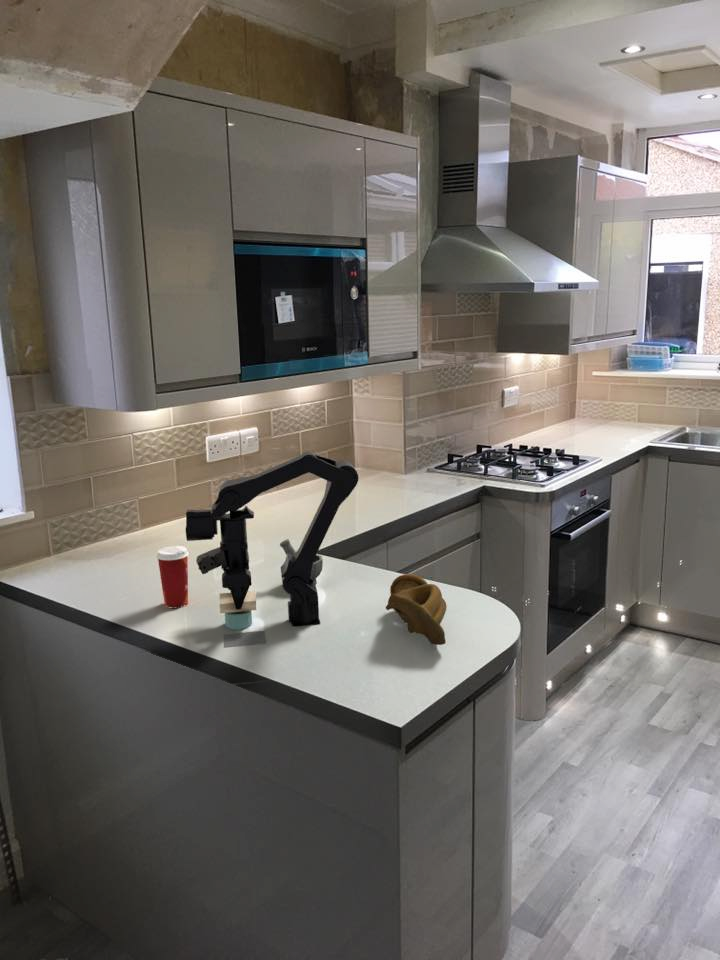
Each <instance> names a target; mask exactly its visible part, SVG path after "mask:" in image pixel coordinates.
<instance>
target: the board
mask: <svg viewBox="0 0 720 960" xmlns="http://www.w3.org/2000/svg"><path fill="white" fill-rule="evenodd" d="M240 611H251V612H252V611H257V597H256V590H248V592H247V594H246V597H245V599H244V602H243V605H242V608H241V609H238V610H237V609H236V607H235V604H234V601H233V597H232V594H231V592H224V593H221V592H220V593H219V613H220V614H225V613H229V612H240Z"/></svg>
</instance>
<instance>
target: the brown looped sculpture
mask: <svg viewBox="0 0 720 960" xmlns="http://www.w3.org/2000/svg"><path fill="white" fill-rule="evenodd" d="M389 590H390V592H389V593H390V596H389V598H388V600H387V605H386V606H385V609H386V610H387V611H390V610H394V611H395V612H396V613H397V614H398V618H400V620H402V621H403V623H405V624H406V629H407V632H408V633H409V634H413V633H415V634H419V635H421V636H424V637H425V638H426V639H427V640H428V642H429V643H430V644H431V645H433V646H438V645H439V646H443V645H446V637H445V636H446V634H445V631H444V628H443V627H442V625H441V623H442V622H443V619H444V617H445V614H446V612H447V603H446V601H445V599H444V598H443V594H442V591H441V590H440V587H438V586H437V585H436V584H433V583H428V582H427V581H426V580H425V579H424V578H423V577H421V576H420V575H417V574H415V573H405V574H401V575H399V576H397V577H396V578H395V579H394V580H393V581H392V583H391V585H390V588H389Z"/></svg>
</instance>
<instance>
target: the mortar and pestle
mask: <svg viewBox="0 0 720 960" xmlns="http://www.w3.org/2000/svg"><path fill="white" fill-rule="evenodd" d="M279 546H280V547H281V548H282V550H283V551H284V553H285V555H286V556H287V553H289V554H291V555H292V556H293V555H294V554H295V553H296V552H297V550H295V548H294V547H293V545H292V544H291V541H290V539H289V538H286V539H284V540H282V541H281V542H280V543H279ZM323 561H324V560H323V557H322V555H320V554H318V553H317V554H316V556H315V558H314V561H313V566H312V571H311V576H310V577H311V578H312V579H313V580H314V581H315V584H318V583H317V578H318V577H319V576H320V575H321V573H322V571H323V566H324V565H323V564H324V562H323Z"/></svg>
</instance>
